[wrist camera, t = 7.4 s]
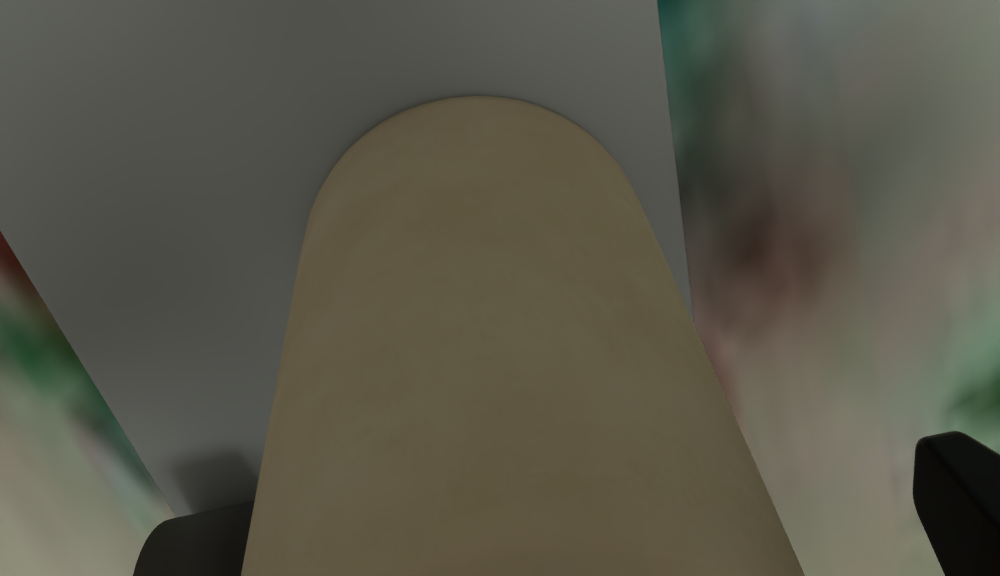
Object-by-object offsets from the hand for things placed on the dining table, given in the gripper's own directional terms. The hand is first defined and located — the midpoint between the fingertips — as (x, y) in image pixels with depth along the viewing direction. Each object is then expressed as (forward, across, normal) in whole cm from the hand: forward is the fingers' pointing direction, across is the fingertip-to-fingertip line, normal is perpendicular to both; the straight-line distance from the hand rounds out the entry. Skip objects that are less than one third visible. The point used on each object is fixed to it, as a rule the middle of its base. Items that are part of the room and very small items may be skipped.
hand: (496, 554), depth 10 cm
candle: (+7, 0, 0) cm, 7 cm away
